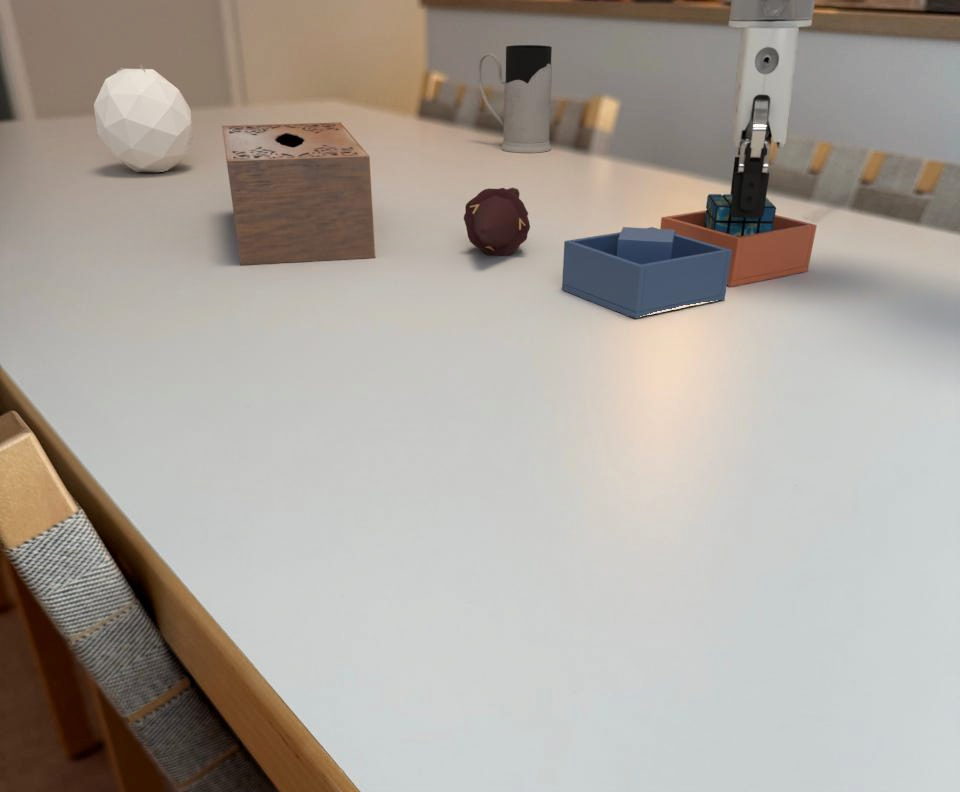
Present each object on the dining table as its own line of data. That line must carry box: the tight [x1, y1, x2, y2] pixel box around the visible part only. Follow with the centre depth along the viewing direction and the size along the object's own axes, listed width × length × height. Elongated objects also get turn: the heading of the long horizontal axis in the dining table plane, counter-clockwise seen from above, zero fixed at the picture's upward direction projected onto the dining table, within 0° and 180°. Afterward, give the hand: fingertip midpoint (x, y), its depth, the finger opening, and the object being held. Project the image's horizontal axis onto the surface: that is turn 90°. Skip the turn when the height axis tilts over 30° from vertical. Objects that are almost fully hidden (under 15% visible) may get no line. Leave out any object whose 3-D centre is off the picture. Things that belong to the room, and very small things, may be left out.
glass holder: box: [477, 44, 553, 154], centre depth 162 cm, size 9×14×15 cm, turn 57°
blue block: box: [617, 226, 675, 265], centre depth 92 cm, size 5×5×5 cm
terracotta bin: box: [659, 210, 818, 288], centre depth 101 cm, size 11×11×5 cm
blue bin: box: [561, 226, 732, 319], centre depth 92 cm, size 11×11×5 cm
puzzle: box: [704, 193, 777, 237], centre depth 100 cm, size 6×6×6 cm
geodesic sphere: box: [93, 63, 193, 173], centre depth 143 cm, size 15×14×14 cm
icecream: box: [463, 187, 531, 257], centre depth 104 cm, size 7×7×15 cm
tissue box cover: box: [221, 122, 376, 266], centre depth 111 cm, size 26×14×10 cm, turn 13°
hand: (745, 207), depth 98 cm, fingers open, 9 cm apart
